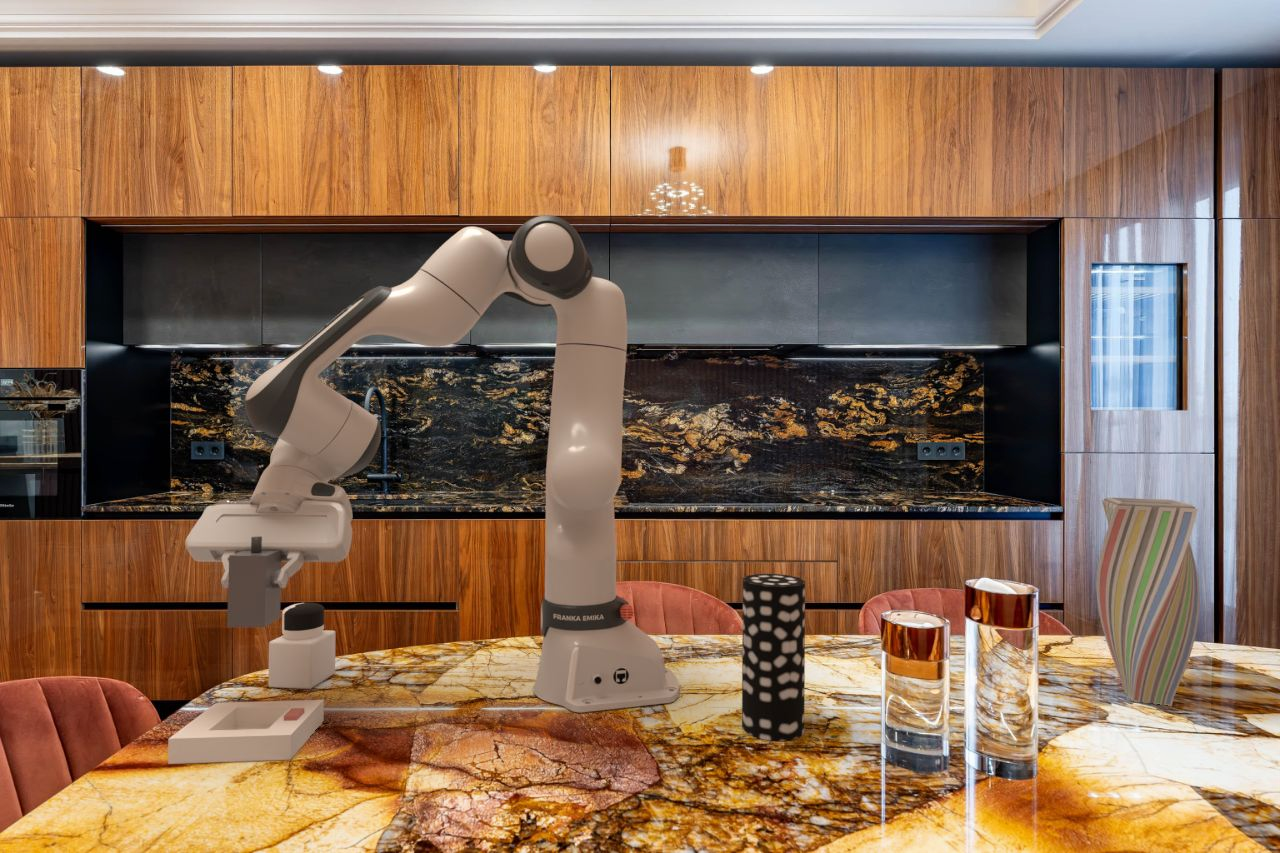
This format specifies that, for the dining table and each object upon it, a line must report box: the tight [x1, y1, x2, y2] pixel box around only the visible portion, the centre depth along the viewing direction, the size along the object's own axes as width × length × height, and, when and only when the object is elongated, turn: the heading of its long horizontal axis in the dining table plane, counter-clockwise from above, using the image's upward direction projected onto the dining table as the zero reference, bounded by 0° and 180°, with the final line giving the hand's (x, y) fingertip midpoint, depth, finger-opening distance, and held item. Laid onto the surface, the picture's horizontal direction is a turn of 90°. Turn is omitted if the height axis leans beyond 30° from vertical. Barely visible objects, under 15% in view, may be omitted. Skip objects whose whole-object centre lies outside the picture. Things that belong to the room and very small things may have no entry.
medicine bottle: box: [268, 602, 337, 690], centre depth 110 cm, size 7×7×12 cm
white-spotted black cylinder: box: [741, 573, 806, 742], centre depth 94 cm, size 8×8×20 cm
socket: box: [167, 699, 325, 765], centre depth 88 cm, size 14×11×4 cm
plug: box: [226, 536, 283, 628], centre depth 89 cm, size 4×4×11 cm
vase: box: [1095, 496, 1200, 707], centre depth 105 cm, size 14×14×30 cm
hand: (252, 585), depth 88 cm, fingers closed on plug, 4 cm apart
